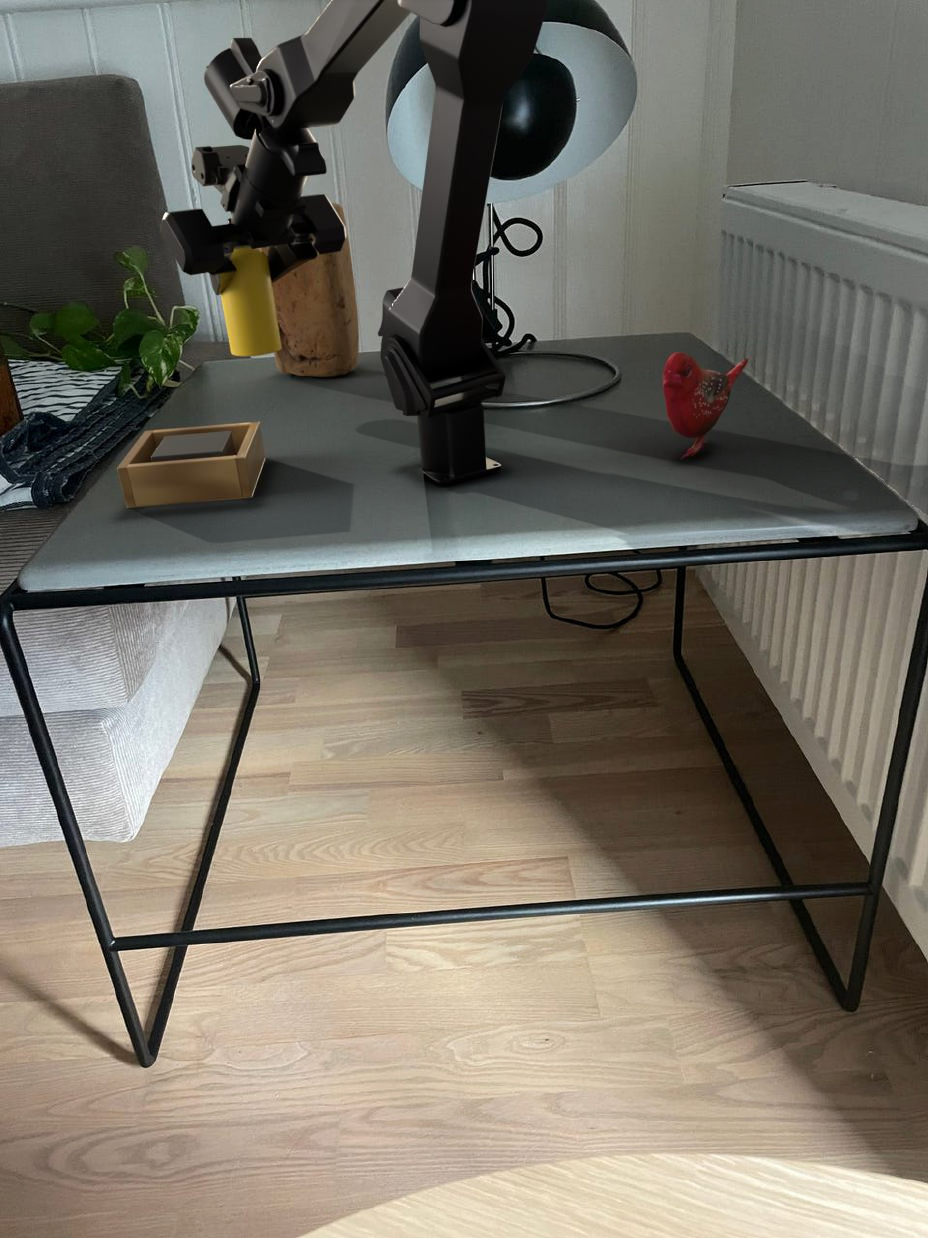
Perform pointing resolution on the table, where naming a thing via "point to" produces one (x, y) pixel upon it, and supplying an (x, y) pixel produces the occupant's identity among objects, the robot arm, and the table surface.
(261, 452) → the crate
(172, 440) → the grey block
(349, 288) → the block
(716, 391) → the decorative bird figurine
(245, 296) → the lemon bottle
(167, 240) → the robot arm
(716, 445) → the table surface
